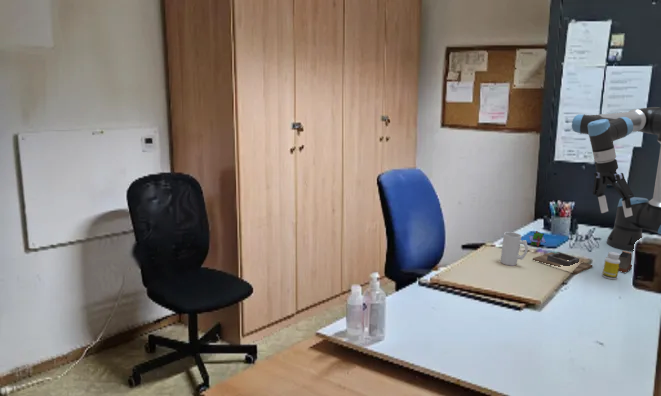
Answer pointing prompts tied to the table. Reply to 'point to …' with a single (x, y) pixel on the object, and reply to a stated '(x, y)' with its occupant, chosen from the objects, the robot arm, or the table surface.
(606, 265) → the supplement bottle
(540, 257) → the holder
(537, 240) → the geometric puzzle
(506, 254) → the mug
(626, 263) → the electronic device
